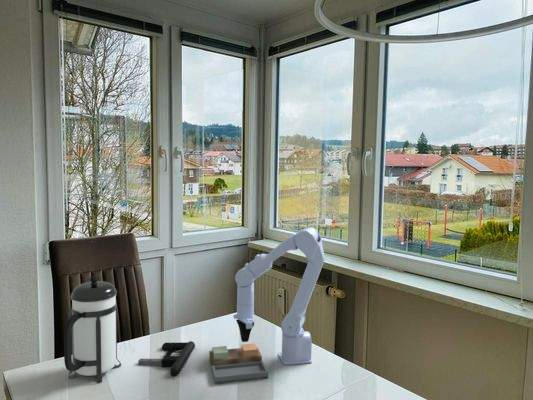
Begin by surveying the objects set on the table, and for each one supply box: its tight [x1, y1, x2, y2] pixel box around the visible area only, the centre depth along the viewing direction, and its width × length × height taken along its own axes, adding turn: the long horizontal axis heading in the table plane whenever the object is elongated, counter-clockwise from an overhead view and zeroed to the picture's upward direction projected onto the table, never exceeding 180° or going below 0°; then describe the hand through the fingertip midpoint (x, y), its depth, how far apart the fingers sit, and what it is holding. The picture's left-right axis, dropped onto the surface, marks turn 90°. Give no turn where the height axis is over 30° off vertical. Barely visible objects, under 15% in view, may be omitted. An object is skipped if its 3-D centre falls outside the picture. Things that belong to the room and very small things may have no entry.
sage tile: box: [211, 345, 228, 360], centre depth 131 cm, size 4×4×2 cm
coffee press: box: [63, 275, 122, 383], centre depth 122 cm, size 17×16×30 cm
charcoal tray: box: [211, 359, 269, 385], centre depth 125 cm, size 16×8×2 cm, turn 104°
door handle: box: [138, 340, 196, 377], centre depth 133 cm, size 3×20×16 cm
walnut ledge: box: [208, 347, 263, 370], centre depth 132 cm, size 16×7×3 cm, turn 104°
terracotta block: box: [240, 343, 259, 357], centre depth 133 cm, size 4×4×2 cm
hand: (244, 341), depth 140 cm, fingers closed
